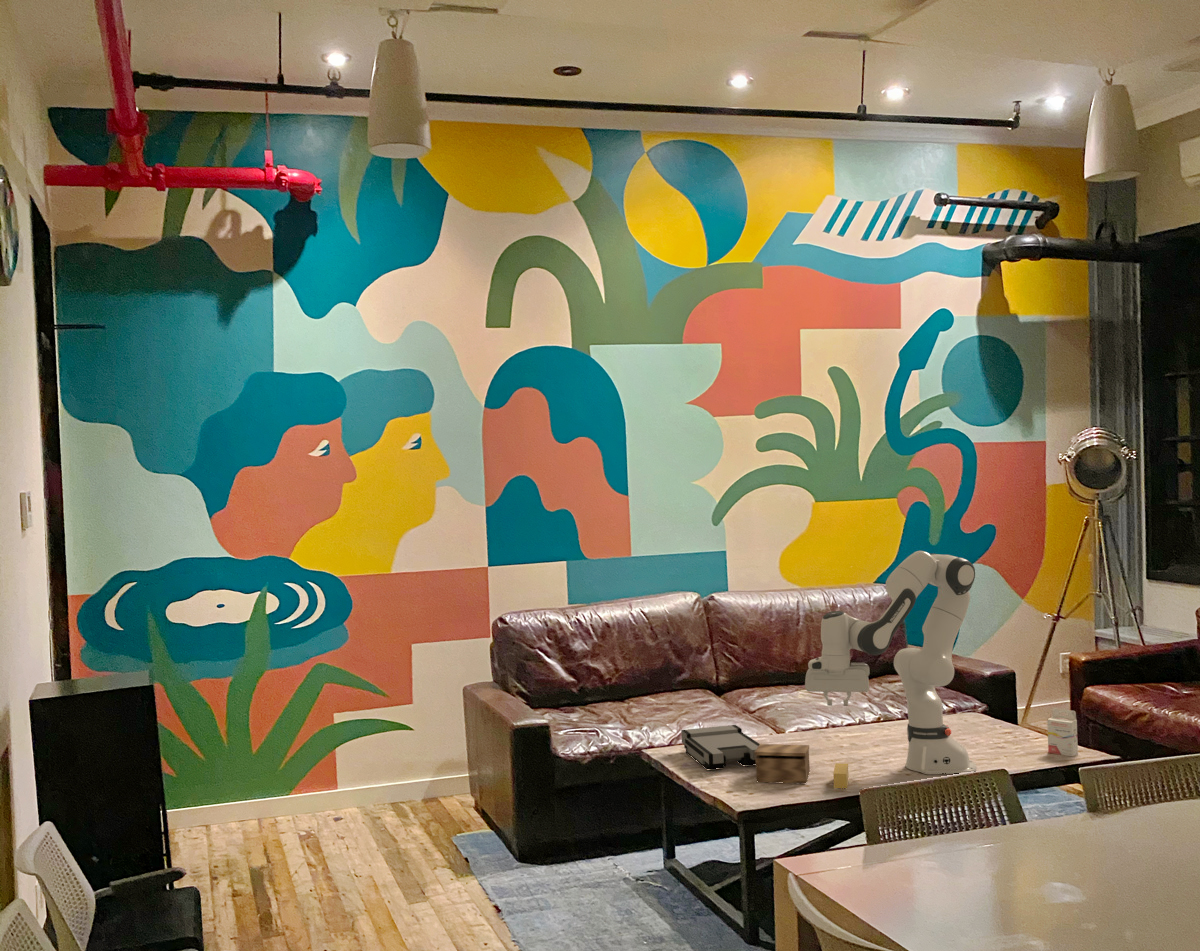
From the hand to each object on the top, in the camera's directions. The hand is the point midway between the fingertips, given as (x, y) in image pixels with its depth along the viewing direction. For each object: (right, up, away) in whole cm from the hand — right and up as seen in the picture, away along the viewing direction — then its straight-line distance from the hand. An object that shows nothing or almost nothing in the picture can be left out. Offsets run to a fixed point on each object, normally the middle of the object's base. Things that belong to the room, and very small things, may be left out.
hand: (837, 705), depth 356 cm
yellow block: (+1, -25, 0) cm, 25 cm away
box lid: (-16, -17, +10) cm, 26 cm away
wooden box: (-16, -26, +10) cm, 32 cm away
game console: (-33, -27, +35) cm, 55 cm away
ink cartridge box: (+82, -22, +23) cm, 88 cm away
